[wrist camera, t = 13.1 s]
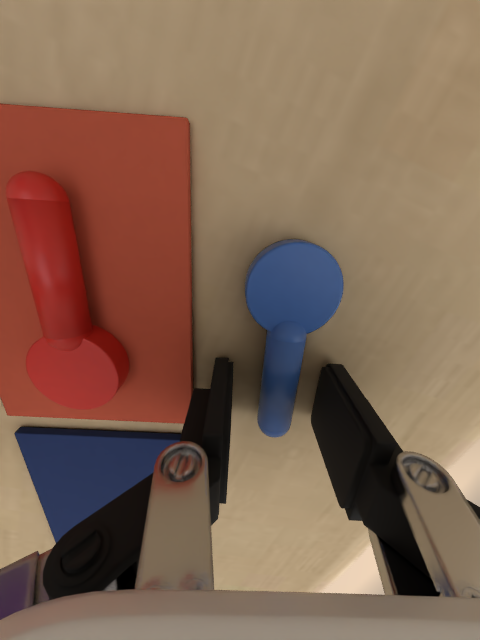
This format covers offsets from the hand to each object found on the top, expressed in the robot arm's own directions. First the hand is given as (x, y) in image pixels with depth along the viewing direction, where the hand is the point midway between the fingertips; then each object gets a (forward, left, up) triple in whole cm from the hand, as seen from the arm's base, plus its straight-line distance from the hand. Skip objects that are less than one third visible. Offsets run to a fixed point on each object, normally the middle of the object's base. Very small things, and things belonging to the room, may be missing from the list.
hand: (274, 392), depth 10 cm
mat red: (-4, -7, 0) cm, 8 cm away
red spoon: (-4, -7, 0) cm, 8 cm away
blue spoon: (-2, 0, 0) cm, 2 cm away
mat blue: (+8, -7, 0) cm, 11 cm away
